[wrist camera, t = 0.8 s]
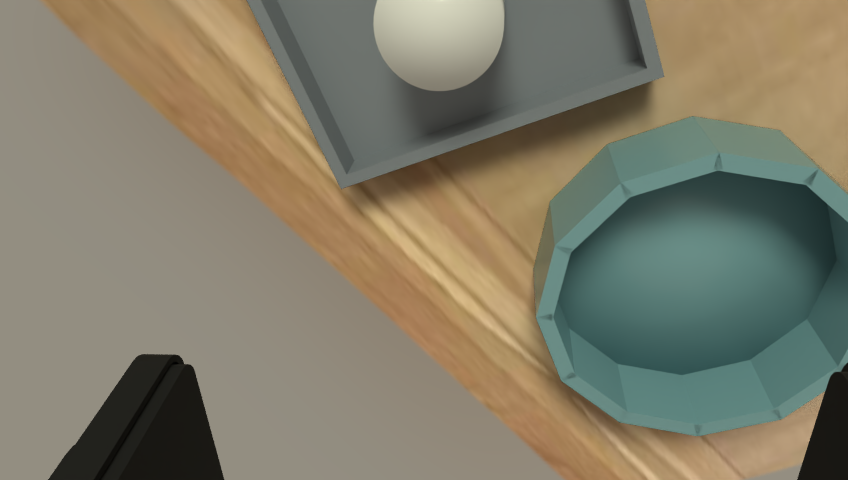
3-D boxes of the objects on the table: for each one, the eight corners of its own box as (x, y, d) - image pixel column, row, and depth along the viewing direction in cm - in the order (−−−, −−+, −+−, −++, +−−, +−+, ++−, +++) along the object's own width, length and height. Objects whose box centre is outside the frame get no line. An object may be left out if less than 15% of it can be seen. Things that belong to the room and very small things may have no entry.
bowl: (820, 74, 31) (867, 106, 27) (860, 336, 38) (904, 395, 33) (499, 179, 36) (497, 221, 31) (584, 398, 42) (591, 457, 38)
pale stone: (481, -76, 29) (476, -67, 25) (520, 38, 31) (521, 64, 27) (373, -29, 31) (352, -13, 27) (418, 78, 33) (404, 108, 29)
